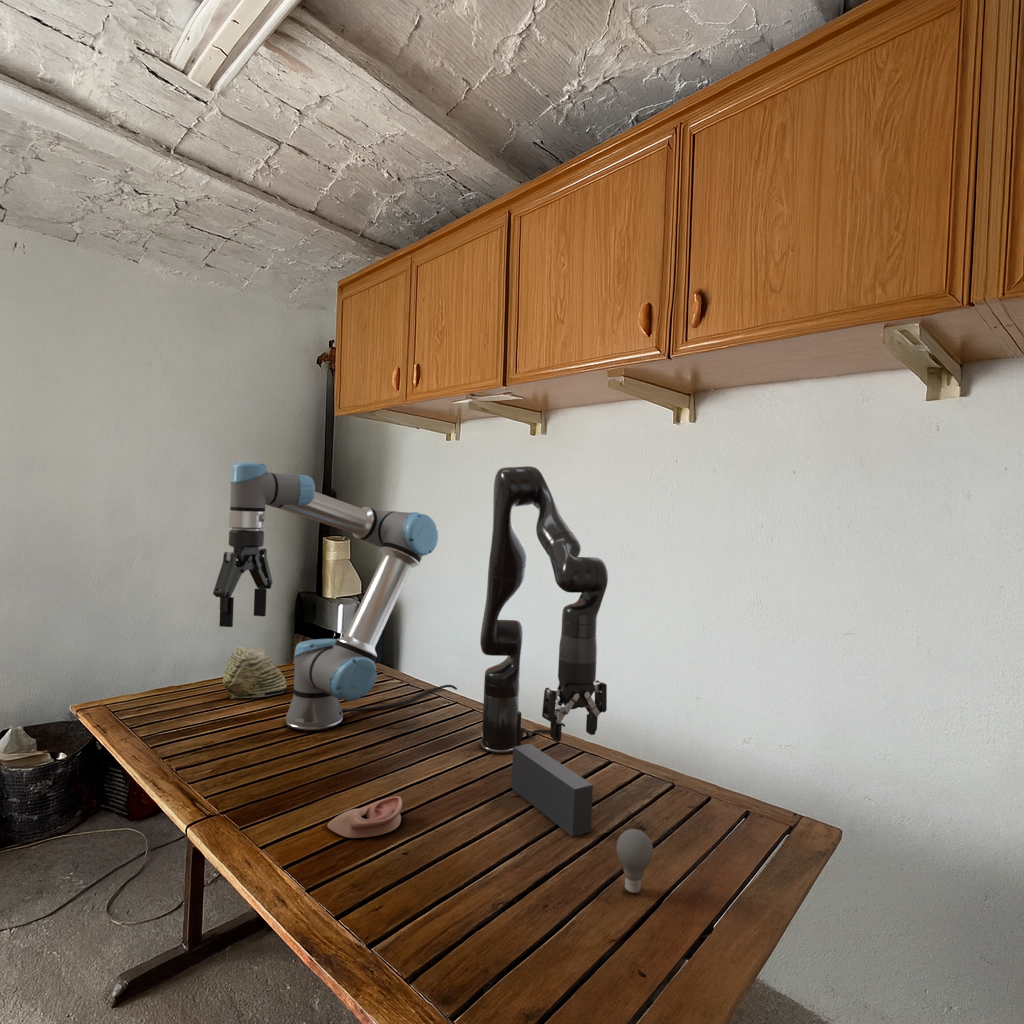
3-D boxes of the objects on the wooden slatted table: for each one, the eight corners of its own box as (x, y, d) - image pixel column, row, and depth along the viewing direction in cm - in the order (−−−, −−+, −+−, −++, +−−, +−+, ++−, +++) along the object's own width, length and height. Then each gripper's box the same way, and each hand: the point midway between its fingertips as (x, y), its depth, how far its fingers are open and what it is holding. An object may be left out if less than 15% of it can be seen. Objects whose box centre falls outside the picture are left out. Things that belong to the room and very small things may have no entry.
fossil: (218, 695, 195) (220, 647, 195) (278, 685, 208) (279, 640, 207) (228, 703, 189) (230, 653, 188) (289, 692, 201) (290, 645, 201)
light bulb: (610, 879, 108) (613, 822, 108) (644, 879, 109) (647, 822, 109) (619, 902, 102) (622, 840, 102) (655, 901, 103) (658, 840, 103)
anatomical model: (320, 812, 119) (347, 786, 130) (319, 833, 119) (347, 805, 130) (386, 822, 116) (408, 795, 127) (385, 844, 116) (408, 814, 128)
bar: (511, 788, 142) (513, 746, 142) (528, 784, 144) (529, 743, 144) (572, 837, 122) (574, 789, 122) (590, 831, 124) (593, 784, 124)
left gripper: (229, 532, 133) (226, 632, 134) (289, 528, 158) (285, 612, 158) (197, 530, 134) (193, 630, 135) (261, 526, 159) (258, 610, 160)
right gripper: (559, 665, 119) (555, 750, 120) (617, 658, 127) (613, 737, 127) (537, 655, 126) (533, 736, 126) (594, 649, 133) (590, 725, 134)
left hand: (243, 621), depth 147 cm, fingers open, 13 cm apart
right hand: (573, 736), depth 127 cm, fingers open, 8 cm apart
